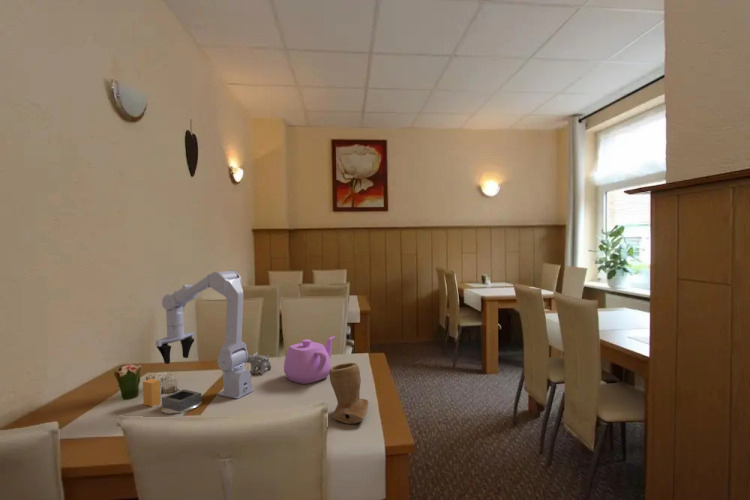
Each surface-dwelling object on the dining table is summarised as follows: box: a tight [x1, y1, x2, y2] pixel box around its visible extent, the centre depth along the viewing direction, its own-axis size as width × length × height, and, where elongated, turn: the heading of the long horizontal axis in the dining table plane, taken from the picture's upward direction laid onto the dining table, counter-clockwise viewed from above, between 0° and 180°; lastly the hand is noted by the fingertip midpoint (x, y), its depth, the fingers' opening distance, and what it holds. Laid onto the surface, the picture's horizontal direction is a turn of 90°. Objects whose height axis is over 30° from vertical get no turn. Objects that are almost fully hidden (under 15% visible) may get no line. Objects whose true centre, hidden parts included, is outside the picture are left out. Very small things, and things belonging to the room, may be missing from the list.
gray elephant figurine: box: [245, 351, 272, 376], centre depth 155 cm, size 9×12×8 cm
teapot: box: [283, 335, 336, 385], centre depth 147 cm, size 23×21×15 cm
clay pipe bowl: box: [328, 362, 369, 425], centre depth 113 cm, size 15×12×15 cm
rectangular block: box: [142, 378, 162, 407], centre depth 125 cm, size 3×4×8 cm, turn 64°
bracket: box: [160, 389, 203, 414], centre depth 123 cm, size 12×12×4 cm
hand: (176, 360), depth 142 cm, fingers open, 7 cm apart
